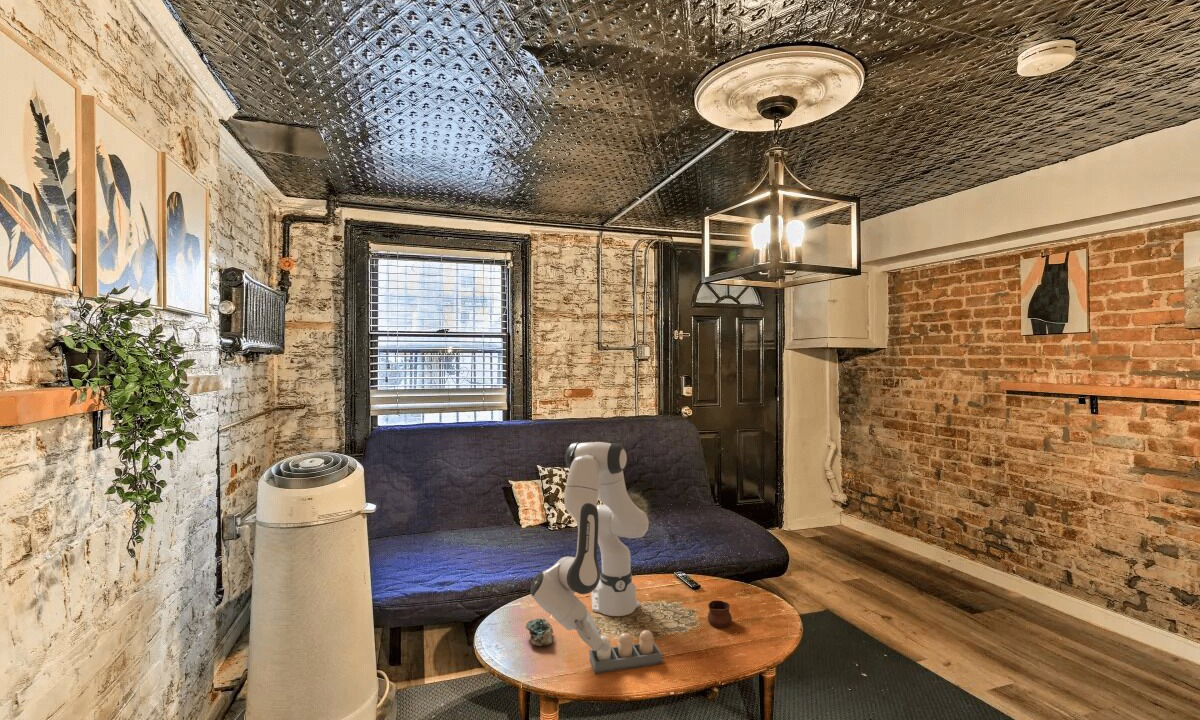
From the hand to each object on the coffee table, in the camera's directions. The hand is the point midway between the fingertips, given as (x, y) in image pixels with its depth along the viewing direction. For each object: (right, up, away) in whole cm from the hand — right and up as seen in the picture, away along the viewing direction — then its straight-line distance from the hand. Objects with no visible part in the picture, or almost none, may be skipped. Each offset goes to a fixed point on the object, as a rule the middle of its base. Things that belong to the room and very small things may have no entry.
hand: (603, 641), depth 172 cm
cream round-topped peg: (0, -7, 0) cm, 7 cm away
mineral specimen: (-21, -8, +15) cm, 27 cm away
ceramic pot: (+42, -8, +26) cm, 50 cm away
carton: (+7, -7, +2) cm, 10 cm away
